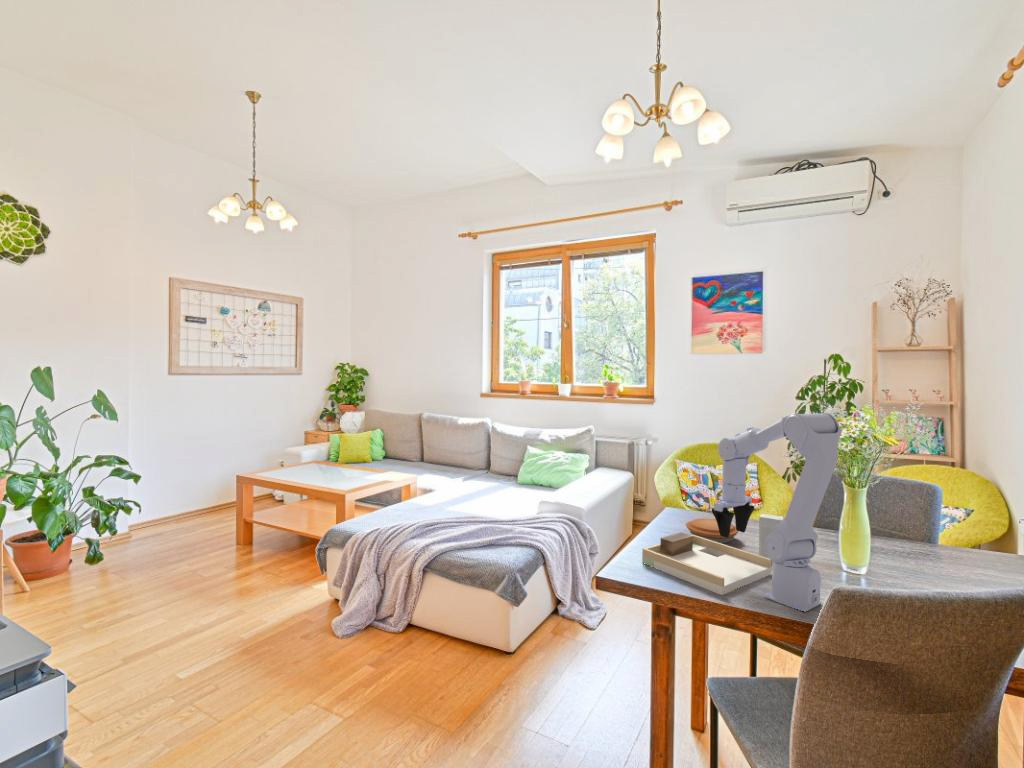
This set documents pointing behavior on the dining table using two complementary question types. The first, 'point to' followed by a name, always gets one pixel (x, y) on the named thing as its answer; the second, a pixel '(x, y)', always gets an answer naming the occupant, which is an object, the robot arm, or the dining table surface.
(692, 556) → the shallow cream tray
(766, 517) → the skincare box
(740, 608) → the dining table surface
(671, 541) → the walnut block
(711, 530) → the pie
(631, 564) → the dining table surface
